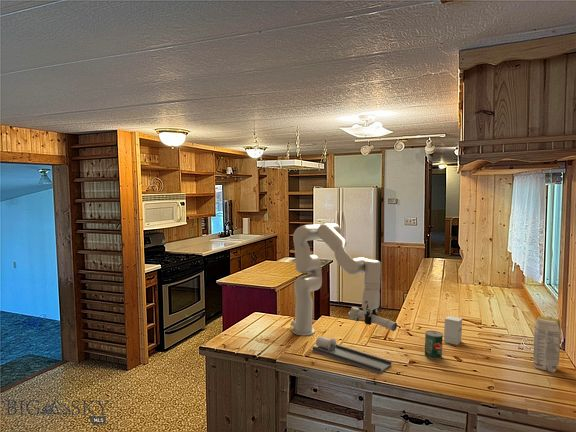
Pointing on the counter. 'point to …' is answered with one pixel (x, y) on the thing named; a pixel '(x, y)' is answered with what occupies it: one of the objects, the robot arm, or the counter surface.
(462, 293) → the counter surface
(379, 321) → the white electric toothbrush
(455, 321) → the supplement box
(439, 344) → the canned tomato
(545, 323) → the juice carton
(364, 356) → the pipe jig board
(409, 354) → the counter surface
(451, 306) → the counter surface
